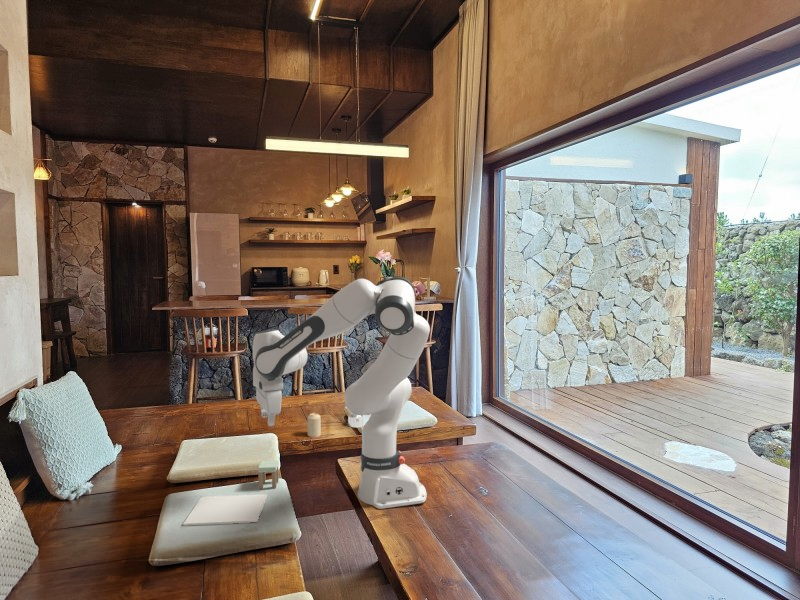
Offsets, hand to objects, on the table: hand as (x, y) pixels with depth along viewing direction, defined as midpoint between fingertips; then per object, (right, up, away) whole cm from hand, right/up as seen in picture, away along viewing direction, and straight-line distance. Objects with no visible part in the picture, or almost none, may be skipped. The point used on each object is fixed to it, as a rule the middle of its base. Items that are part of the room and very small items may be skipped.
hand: (267, 421), depth 159 cm
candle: (+7, -19, +47) cm, 51 cm away
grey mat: (-8, -22, -15) cm, 28 cm away
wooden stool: (0, -21, +1) cm, 21 cm away
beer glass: (+23, -28, +62) cm, 72 cm away
